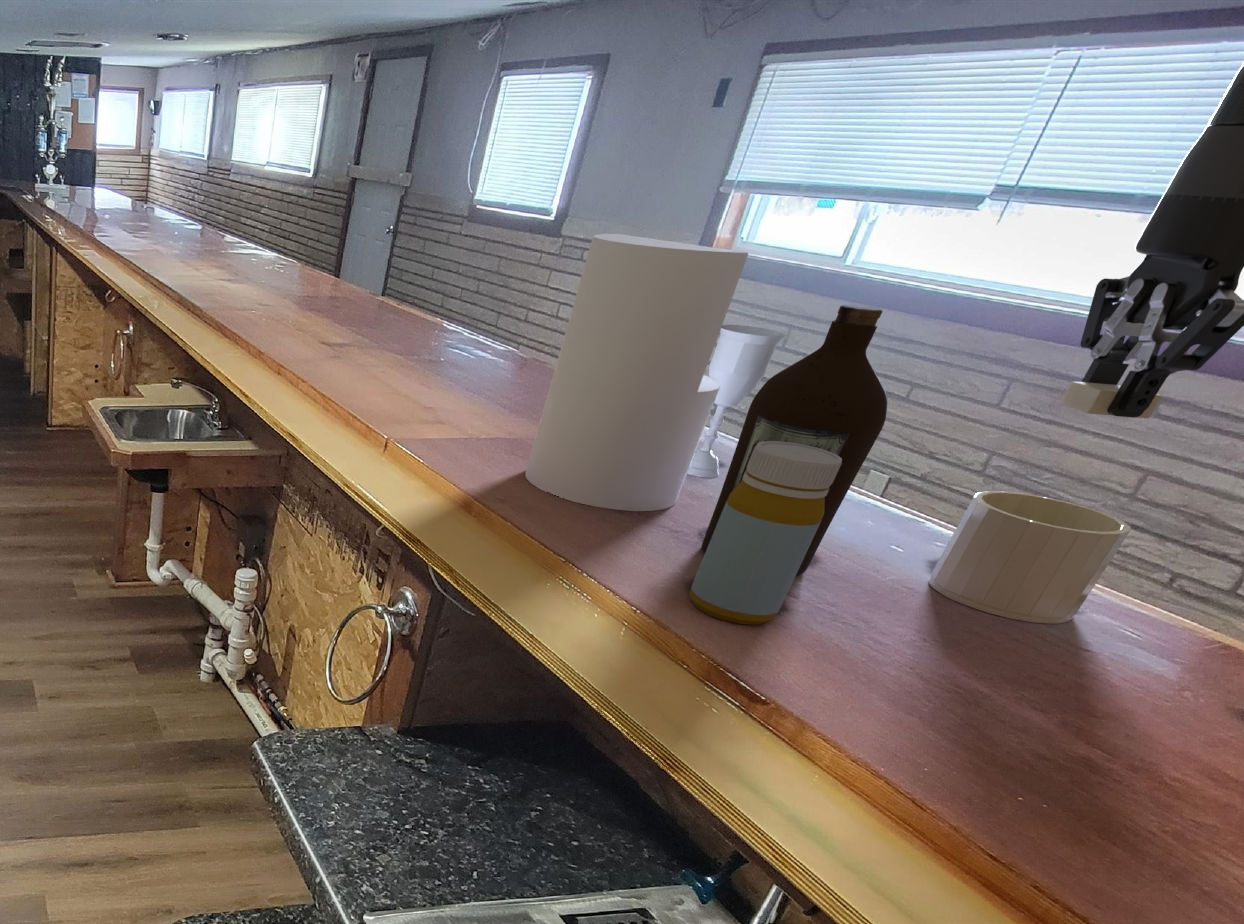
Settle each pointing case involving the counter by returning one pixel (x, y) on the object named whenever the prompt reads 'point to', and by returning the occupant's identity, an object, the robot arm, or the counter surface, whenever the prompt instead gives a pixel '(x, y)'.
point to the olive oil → (818, 411)
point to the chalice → (733, 381)
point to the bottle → (764, 532)
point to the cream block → (1097, 398)
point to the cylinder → (634, 373)
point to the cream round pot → (1027, 556)
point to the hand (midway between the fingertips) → (1104, 408)
